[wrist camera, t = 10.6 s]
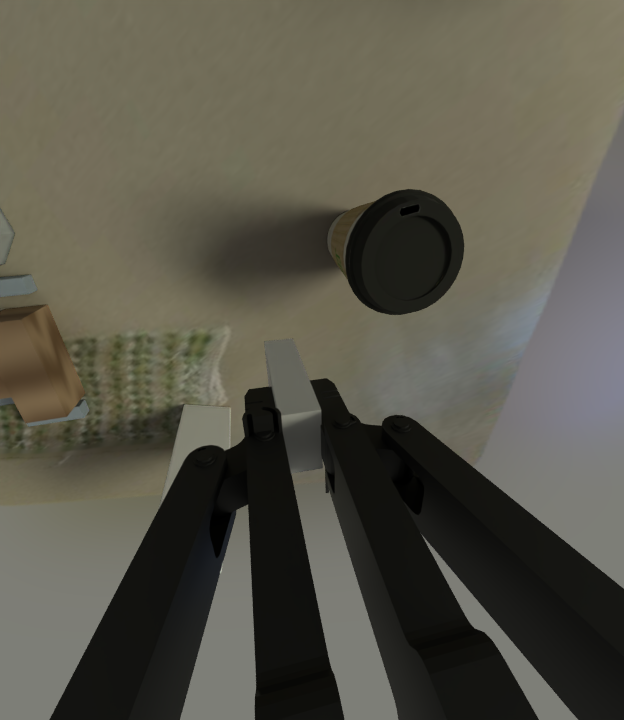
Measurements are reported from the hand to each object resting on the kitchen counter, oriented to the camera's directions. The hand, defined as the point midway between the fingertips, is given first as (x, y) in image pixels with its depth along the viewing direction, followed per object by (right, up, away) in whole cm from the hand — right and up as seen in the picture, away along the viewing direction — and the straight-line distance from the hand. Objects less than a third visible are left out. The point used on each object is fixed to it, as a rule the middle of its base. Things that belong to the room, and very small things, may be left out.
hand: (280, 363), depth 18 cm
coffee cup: (+6, +14, +21) cm, 27 cm away
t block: (-32, 0, +19) cm, 37 cm away
